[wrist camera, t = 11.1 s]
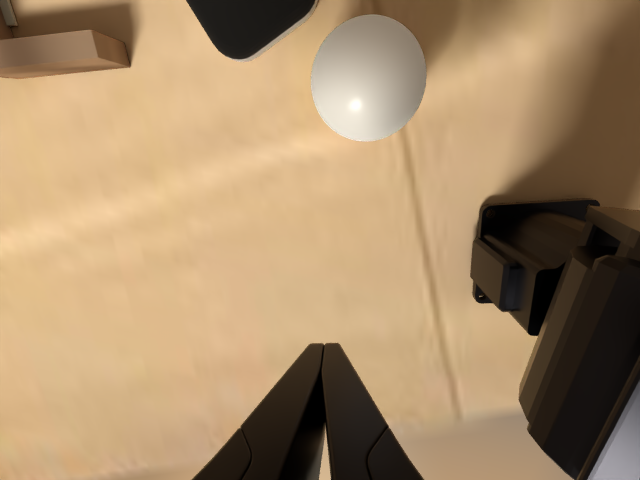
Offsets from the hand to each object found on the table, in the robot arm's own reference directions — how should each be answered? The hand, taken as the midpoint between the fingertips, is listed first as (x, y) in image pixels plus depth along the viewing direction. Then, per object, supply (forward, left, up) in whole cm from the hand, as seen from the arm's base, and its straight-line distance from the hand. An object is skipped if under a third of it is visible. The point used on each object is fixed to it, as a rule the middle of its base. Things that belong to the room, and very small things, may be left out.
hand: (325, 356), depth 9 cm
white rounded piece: (-2, -8, -12) cm, 15 cm away
